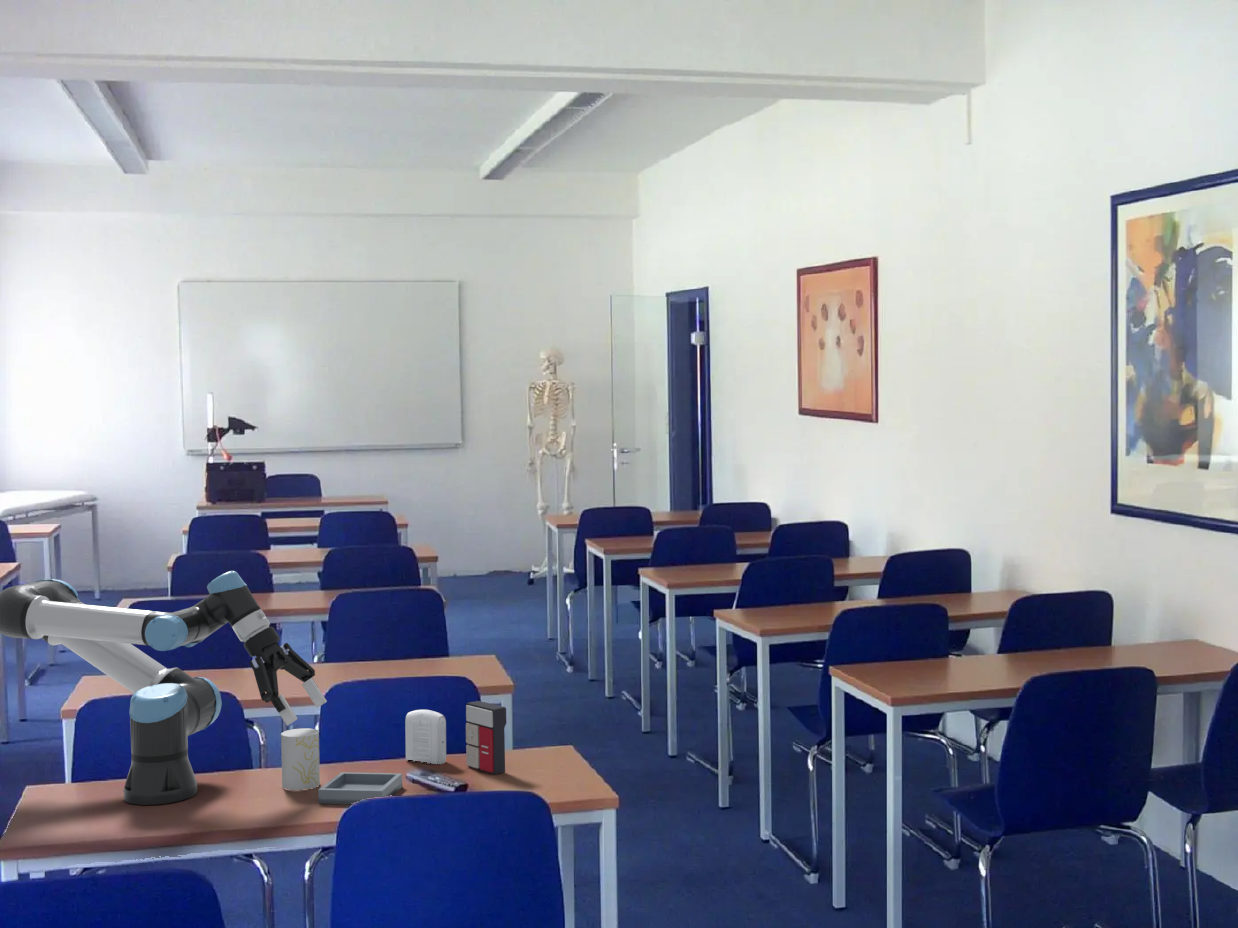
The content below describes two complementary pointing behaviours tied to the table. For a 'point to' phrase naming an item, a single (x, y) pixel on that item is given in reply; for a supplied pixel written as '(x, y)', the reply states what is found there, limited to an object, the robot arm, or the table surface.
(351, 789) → the tray
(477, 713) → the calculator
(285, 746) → the cup
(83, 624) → the robot arm
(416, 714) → the white rounded block
